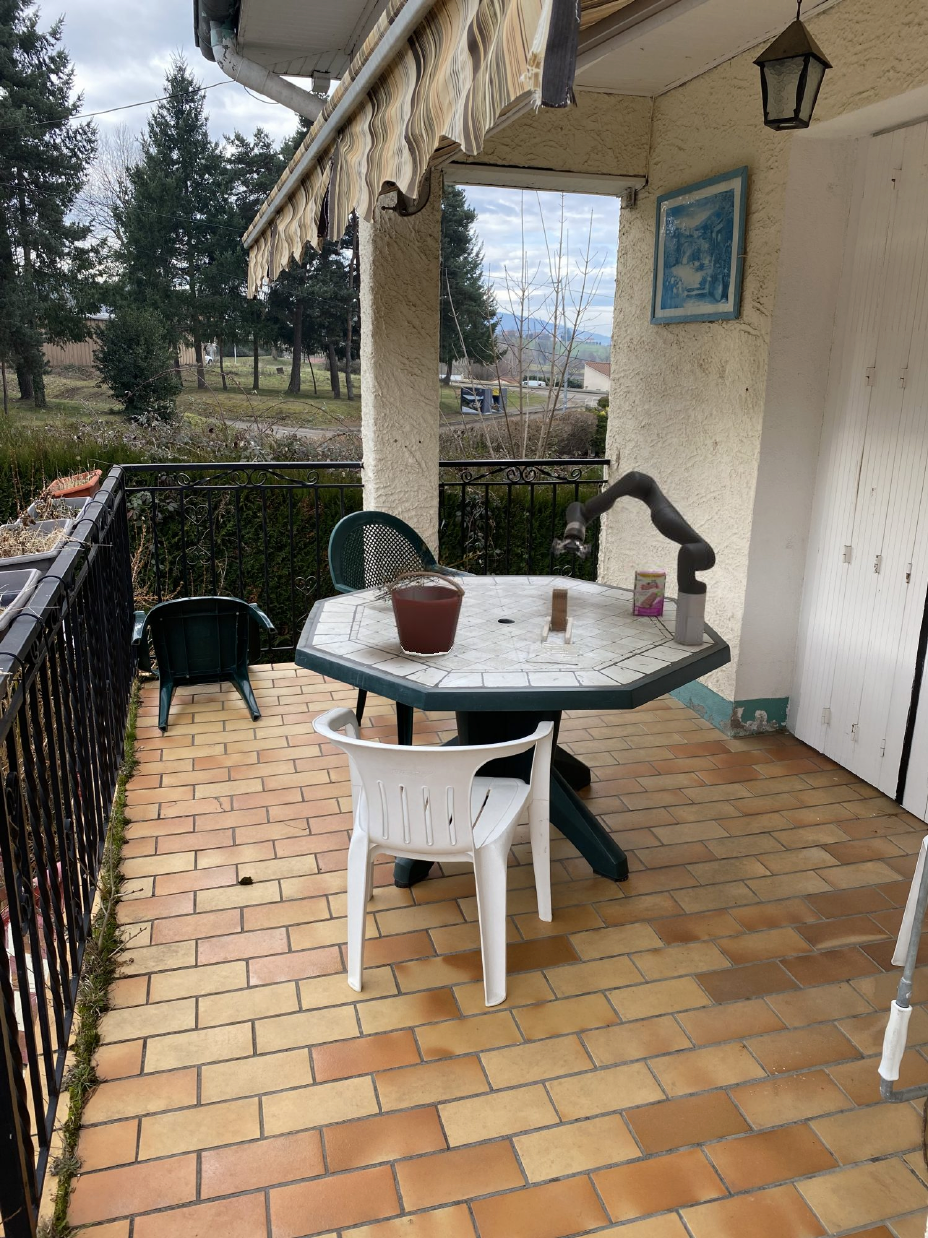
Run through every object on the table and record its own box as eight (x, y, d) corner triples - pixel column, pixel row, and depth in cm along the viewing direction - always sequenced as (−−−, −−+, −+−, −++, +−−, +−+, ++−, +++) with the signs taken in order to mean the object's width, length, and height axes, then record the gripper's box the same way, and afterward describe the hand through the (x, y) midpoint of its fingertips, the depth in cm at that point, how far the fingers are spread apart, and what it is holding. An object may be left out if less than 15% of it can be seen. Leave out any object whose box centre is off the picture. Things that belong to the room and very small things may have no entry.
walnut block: (551, 627, 316) (553, 588, 312) (566, 628, 315) (567, 589, 311) (550, 631, 311) (552, 591, 307) (565, 631, 310) (567, 592, 307)
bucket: (376, 652, 284) (375, 575, 277) (408, 635, 303) (408, 562, 297) (446, 663, 274) (447, 583, 268) (475, 644, 294) (476, 570, 287)
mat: (531, 643, 296) (531, 642, 296) (580, 646, 294) (580, 645, 294) (526, 661, 277) (526, 660, 277) (578, 664, 275) (578, 663, 274)
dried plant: (346, 567, 324) (457, 521, 311) (376, 558, 354) (478, 516, 340) (377, 645, 326) (489, 603, 313) (404, 630, 356) (507, 591, 342)
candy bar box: (632, 616, 332) (635, 572, 328) (631, 612, 337) (634, 569, 333) (663, 617, 331) (666, 573, 327) (661, 613, 336) (665, 570, 332)
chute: (546, 623, 321) (546, 616, 320) (572, 624, 319) (572, 617, 319) (541, 643, 296) (542, 635, 296) (569, 644, 295) (570, 637, 294)
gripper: (556, 524, 332) (550, 546, 319) (594, 529, 330) (590, 552, 317) (554, 541, 337) (548, 563, 324) (592, 547, 335) (587, 570, 322)
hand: (569, 558), depth 321 cm, fingers open, 8 cm apart
